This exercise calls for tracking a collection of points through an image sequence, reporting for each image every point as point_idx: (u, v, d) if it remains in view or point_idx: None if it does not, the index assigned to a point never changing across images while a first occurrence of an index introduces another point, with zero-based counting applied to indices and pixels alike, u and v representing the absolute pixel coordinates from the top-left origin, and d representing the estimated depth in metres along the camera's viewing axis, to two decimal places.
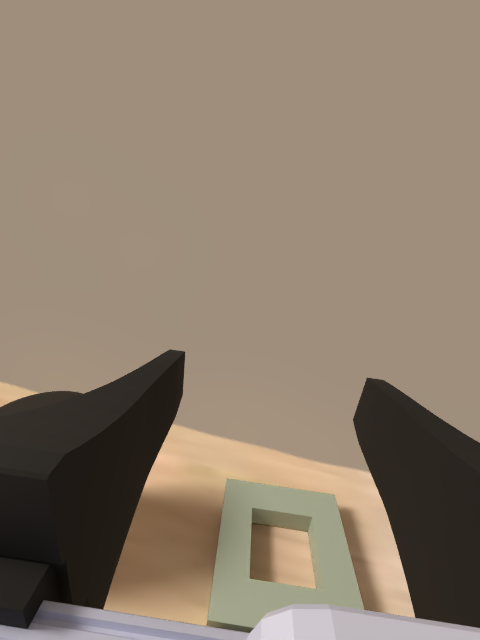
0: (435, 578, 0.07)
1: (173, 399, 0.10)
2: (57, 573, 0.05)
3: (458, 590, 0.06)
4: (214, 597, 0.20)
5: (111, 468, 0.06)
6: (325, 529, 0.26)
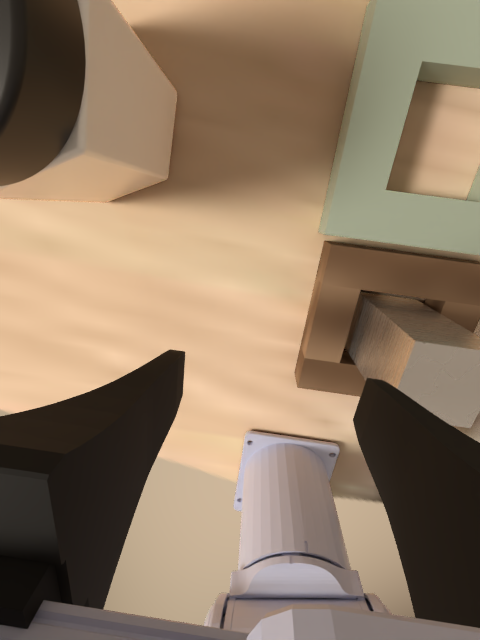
0: (435, 578, 0.07)
1: (173, 399, 0.10)
2: (57, 573, 0.05)
3: (458, 590, 0.06)
4: (335, 212, 0.16)
5: (111, 468, 0.06)
6: None
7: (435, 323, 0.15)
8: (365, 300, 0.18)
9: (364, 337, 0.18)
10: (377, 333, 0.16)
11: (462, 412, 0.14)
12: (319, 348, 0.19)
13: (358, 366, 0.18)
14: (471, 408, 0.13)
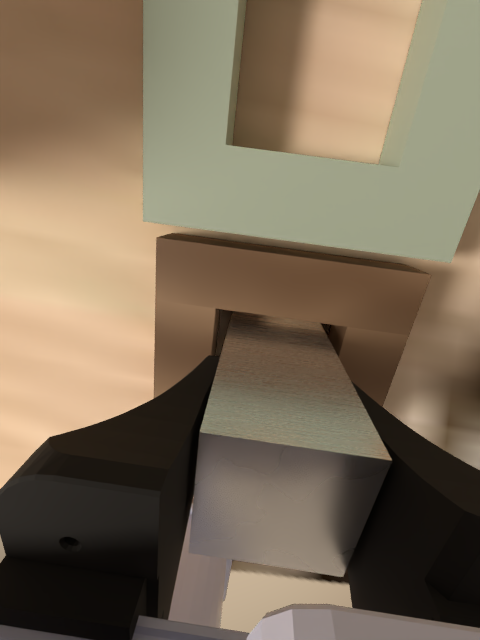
0: (368, 568, 0.07)
1: None
2: (147, 587, 0.05)
3: (384, 579, 0.06)
4: (151, 184, 0.10)
5: (184, 479, 0.06)
6: None
7: (302, 372, 0.09)
8: (229, 324, 0.12)
9: None
10: None
11: (322, 553, 0.07)
12: None
13: None
14: (337, 547, 0.07)
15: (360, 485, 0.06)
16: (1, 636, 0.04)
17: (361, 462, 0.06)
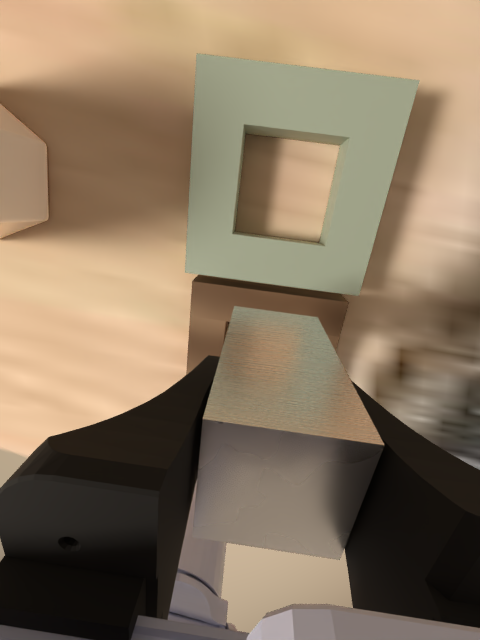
0: (368, 568, 0.07)
1: None
2: (146, 587, 0.05)
3: (384, 578, 0.06)
4: (190, 253, 0.18)
5: (183, 479, 0.06)
6: (364, 161, 0.15)
7: (300, 365, 0.09)
8: (230, 321, 0.12)
9: None
10: None
11: (320, 536, 0.07)
12: None
13: None
14: (334, 530, 0.07)
15: (355, 469, 0.07)
16: (0, 636, 0.04)
17: (355, 447, 0.06)
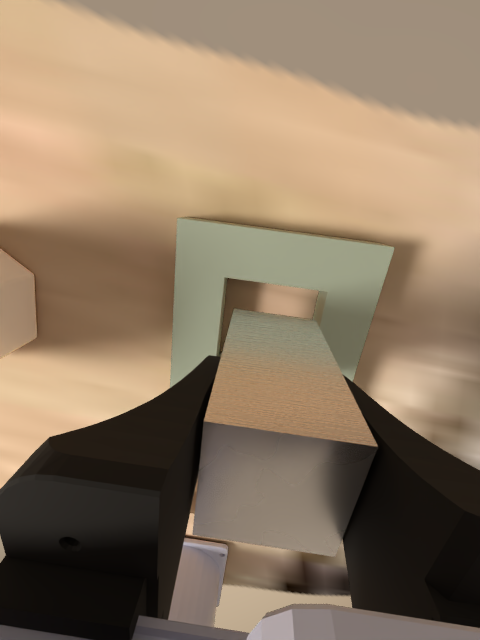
0: (368, 568, 0.07)
1: None
2: (147, 587, 0.05)
3: (384, 578, 0.06)
4: (174, 381, 0.18)
5: (183, 479, 0.06)
6: (342, 311, 0.16)
7: (298, 368, 0.09)
8: (230, 323, 0.13)
9: None
10: None
11: (316, 534, 0.08)
12: None
13: None
14: (330, 528, 0.08)
15: (349, 470, 0.07)
16: (1, 636, 0.04)
17: (350, 448, 0.07)
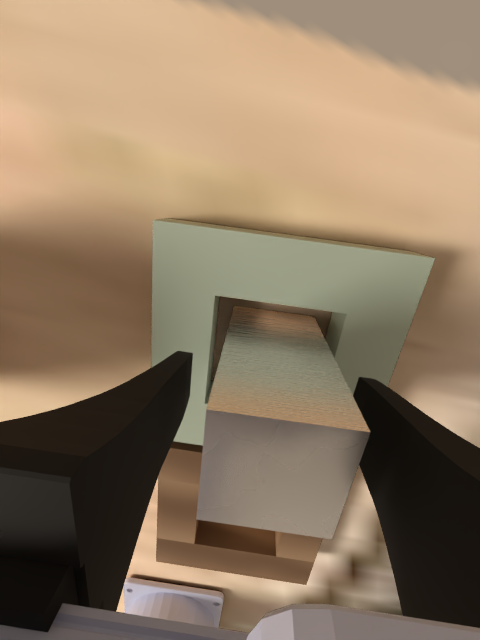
0: (421, 576, 0.07)
1: (181, 400, 0.10)
2: (75, 576, 0.05)
3: (444, 588, 0.06)
4: None
5: (125, 470, 0.06)
6: (364, 338, 0.12)
7: (296, 362, 0.10)
8: (230, 320, 0.13)
9: None
10: None
11: (313, 517, 0.08)
12: (170, 531, 0.18)
13: None
14: (326, 512, 0.08)
15: (344, 455, 0.07)
16: None
17: (344, 434, 0.07)
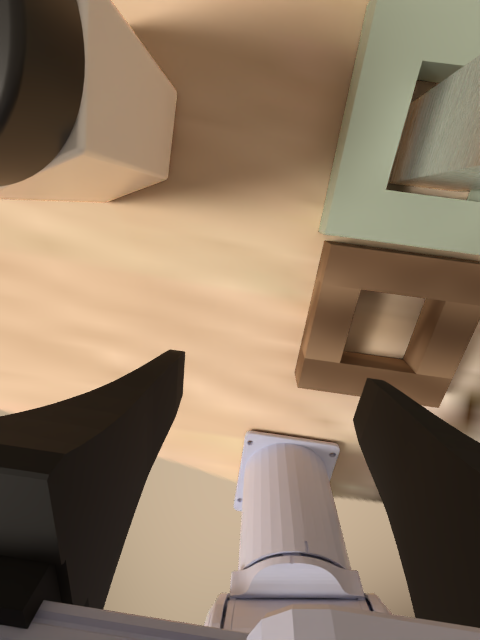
0: (435, 578, 0.07)
1: (173, 399, 0.10)
2: (57, 573, 0.05)
3: (458, 590, 0.06)
4: (335, 212, 0.16)
5: (111, 468, 0.06)
6: None
7: None
8: (426, 95, 0.14)
9: (429, 131, 0.14)
10: (454, 98, 0.12)
11: None
12: (319, 348, 0.19)
13: (419, 174, 0.14)
14: None
15: None
16: None
17: None
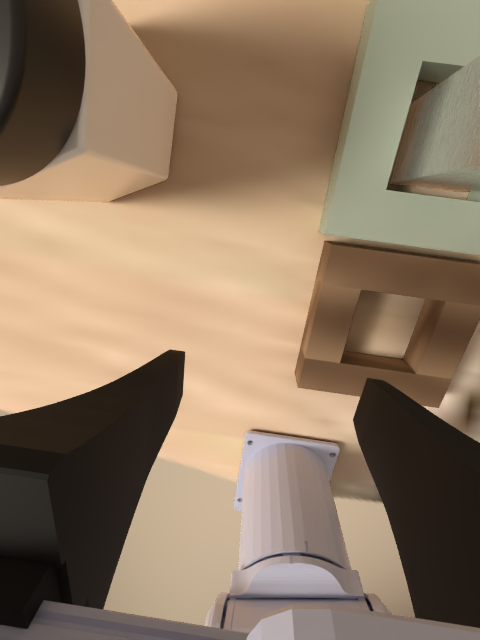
0: (435, 578, 0.07)
1: (173, 399, 0.10)
2: (57, 573, 0.05)
3: (458, 590, 0.06)
4: (335, 212, 0.16)
5: (111, 468, 0.06)
6: None
7: None
8: (426, 95, 0.14)
9: (429, 131, 0.14)
10: (455, 98, 0.12)
11: None
12: (319, 348, 0.19)
13: (419, 174, 0.14)
14: None
15: None
16: None
17: None
